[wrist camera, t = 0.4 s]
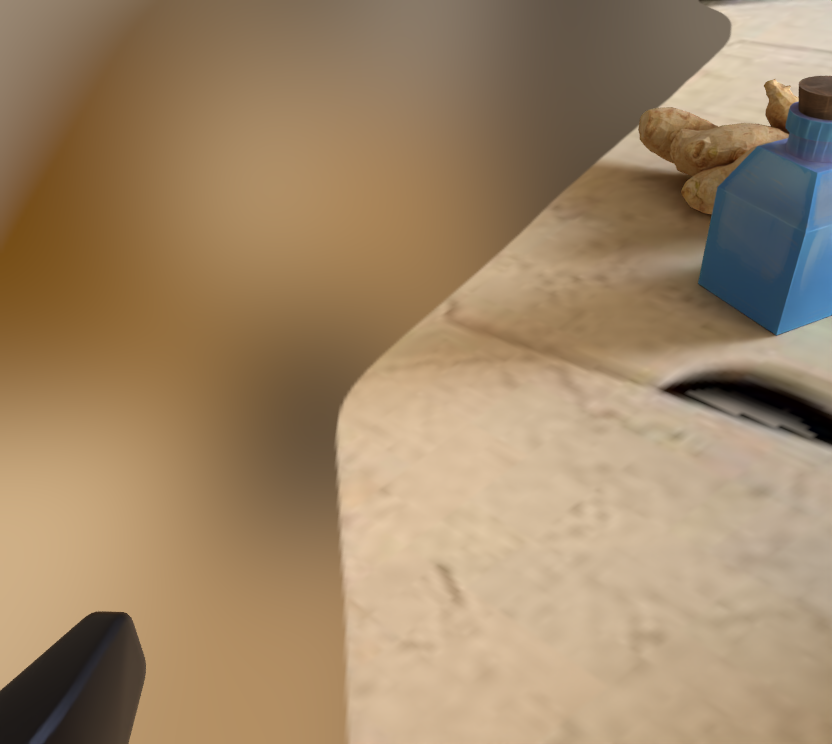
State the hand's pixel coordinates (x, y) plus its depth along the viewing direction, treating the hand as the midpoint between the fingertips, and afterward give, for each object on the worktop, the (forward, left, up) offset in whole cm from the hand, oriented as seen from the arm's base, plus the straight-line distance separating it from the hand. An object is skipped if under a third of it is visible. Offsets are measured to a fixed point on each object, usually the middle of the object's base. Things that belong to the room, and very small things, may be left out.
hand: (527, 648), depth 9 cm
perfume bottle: (+35, -19, -18) cm, 43 cm away
